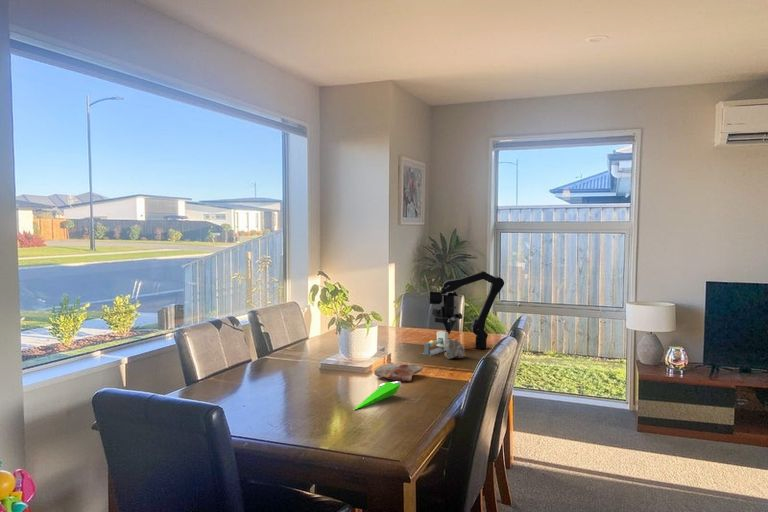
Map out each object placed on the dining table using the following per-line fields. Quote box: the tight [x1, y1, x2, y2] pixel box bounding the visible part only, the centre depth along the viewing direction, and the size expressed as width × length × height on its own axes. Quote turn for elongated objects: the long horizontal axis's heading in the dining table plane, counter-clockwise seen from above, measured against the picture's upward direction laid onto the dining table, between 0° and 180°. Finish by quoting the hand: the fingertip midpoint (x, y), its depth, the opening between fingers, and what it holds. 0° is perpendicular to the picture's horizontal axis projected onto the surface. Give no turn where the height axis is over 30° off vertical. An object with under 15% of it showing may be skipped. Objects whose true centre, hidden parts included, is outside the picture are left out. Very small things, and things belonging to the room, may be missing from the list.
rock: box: [443, 338, 465, 360], centre depth 274 cm, size 9×12×10 cm
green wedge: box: [354, 380, 403, 410], centre depth 207 cm, size 11×5×25 cm
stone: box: [374, 362, 424, 382], centre depth 240 cm, size 20×6×15 cm
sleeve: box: [436, 330, 449, 347], centre depth 292 cm, size 3×5×7 cm, turn 52°
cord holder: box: [421, 337, 452, 357], centre depth 288 cm, size 19×6×7 cm, turn 142°
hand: (448, 333), depth 296 cm, fingers closed
